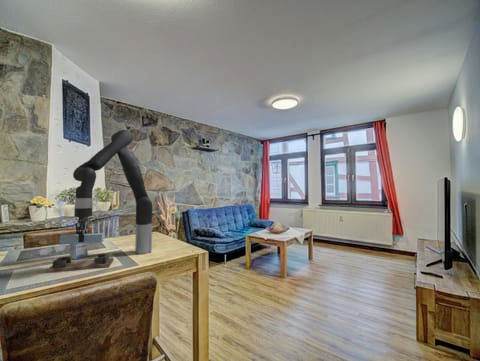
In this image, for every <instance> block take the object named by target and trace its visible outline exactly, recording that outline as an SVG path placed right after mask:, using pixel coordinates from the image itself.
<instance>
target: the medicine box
mask: <svg viewBox="0 0 480 361" xmlns="http://www.w3.org/2000/svg"><path fill="white" fill-rule="evenodd" d="M88 250H89V243H81V244H69V255H68V256H71V260H77V259H80V257H81V258H83V256H84V257H86V256H88V254H89V253H88V252H89V251H88Z"/></svg>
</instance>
